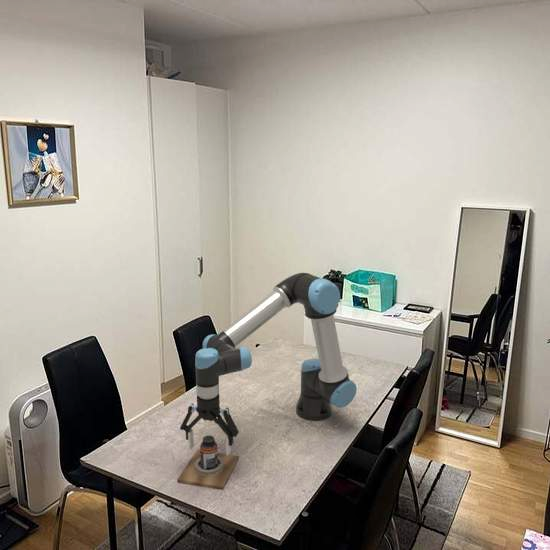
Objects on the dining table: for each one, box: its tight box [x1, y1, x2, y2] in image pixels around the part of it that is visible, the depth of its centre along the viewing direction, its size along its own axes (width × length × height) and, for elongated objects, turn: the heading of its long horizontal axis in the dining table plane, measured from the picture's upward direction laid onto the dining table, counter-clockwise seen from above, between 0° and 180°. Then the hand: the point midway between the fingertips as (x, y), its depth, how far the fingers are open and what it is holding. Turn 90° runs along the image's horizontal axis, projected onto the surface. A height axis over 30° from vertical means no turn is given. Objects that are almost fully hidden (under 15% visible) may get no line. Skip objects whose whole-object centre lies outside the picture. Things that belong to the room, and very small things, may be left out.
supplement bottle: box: [199, 435, 219, 470], centre depth 177 cm, size 6×6×11 cm
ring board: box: [176, 449, 240, 491], centre depth 178 cm, size 16×18×3 cm
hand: (209, 450), depth 177 cm, fingers open, 13 cm apart
